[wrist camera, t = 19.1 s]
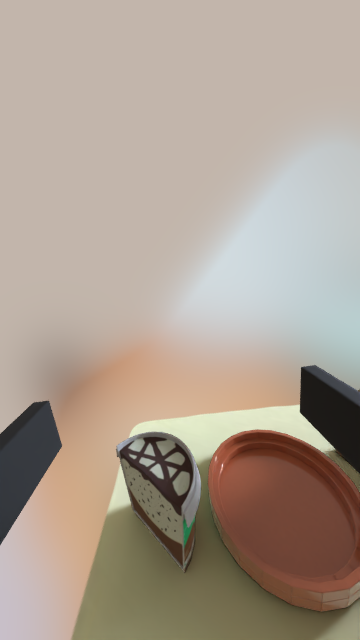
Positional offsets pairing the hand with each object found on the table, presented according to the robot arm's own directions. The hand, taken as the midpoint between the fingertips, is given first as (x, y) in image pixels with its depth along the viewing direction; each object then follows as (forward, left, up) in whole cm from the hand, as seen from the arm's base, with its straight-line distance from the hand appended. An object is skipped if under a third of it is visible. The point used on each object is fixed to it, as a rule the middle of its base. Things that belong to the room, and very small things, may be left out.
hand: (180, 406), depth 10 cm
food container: (+3, -11, -24) cm, 27 cm away
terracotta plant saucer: (-11, -11, -24) cm, 28 cm away
